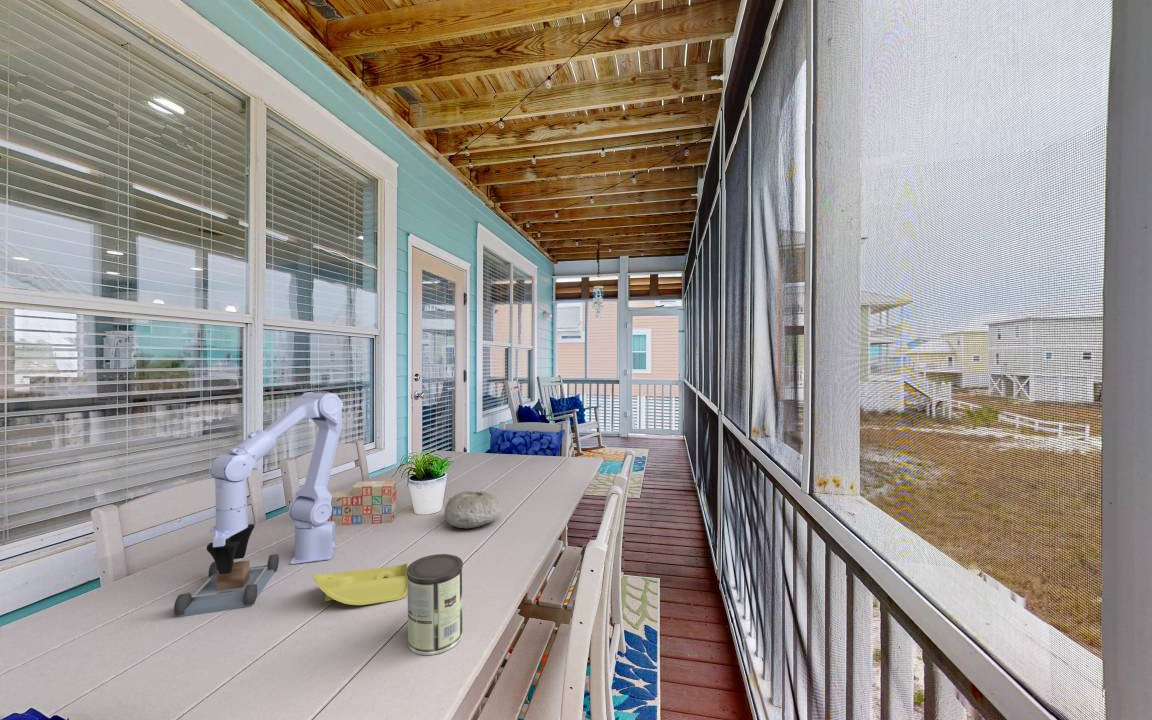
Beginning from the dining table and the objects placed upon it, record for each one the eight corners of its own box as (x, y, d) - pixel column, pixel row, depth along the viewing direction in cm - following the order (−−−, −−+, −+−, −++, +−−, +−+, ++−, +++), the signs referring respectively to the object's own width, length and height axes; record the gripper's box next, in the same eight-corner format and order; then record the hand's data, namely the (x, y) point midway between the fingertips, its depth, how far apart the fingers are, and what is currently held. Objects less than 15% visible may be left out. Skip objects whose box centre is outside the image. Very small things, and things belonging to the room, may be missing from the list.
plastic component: (405, 564, 112) (410, 562, 104) (404, 598, 109) (409, 597, 101) (313, 576, 103) (311, 573, 95) (309, 612, 100) (307, 613, 92)
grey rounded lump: (475, 510, 157) (475, 482, 157) (513, 521, 147) (513, 491, 147) (432, 526, 143) (432, 495, 143) (470, 540, 132) (470, 506, 132)
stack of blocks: (321, 526, 143) (321, 487, 142) (329, 519, 149) (328, 482, 149) (391, 523, 146) (391, 485, 145) (396, 516, 152) (396, 480, 152)
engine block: (249, 579, 107) (249, 560, 107) (243, 587, 103) (243, 567, 103) (224, 582, 105) (224, 563, 105) (216, 590, 101) (216, 571, 101)
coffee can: (425, 619, 93) (425, 551, 93) (472, 626, 90) (471, 556, 90) (395, 651, 83) (394, 575, 83) (446, 660, 80) (445, 581, 80)
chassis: (278, 567, 115) (278, 551, 115) (250, 608, 97) (250, 589, 97) (215, 575, 111) (215, 559, 111) (174, 619, 92) (173, 600, 92)
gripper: (224, 498, 109) (224, 554, 109) (195, 519, 95) (196, 583, 96) (258, 495, 111) (258, 550, 112) (234, 516, 98) (235, 578, 98)
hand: (232, 565), depth 104 cm, fingers open, 7 cm apart
